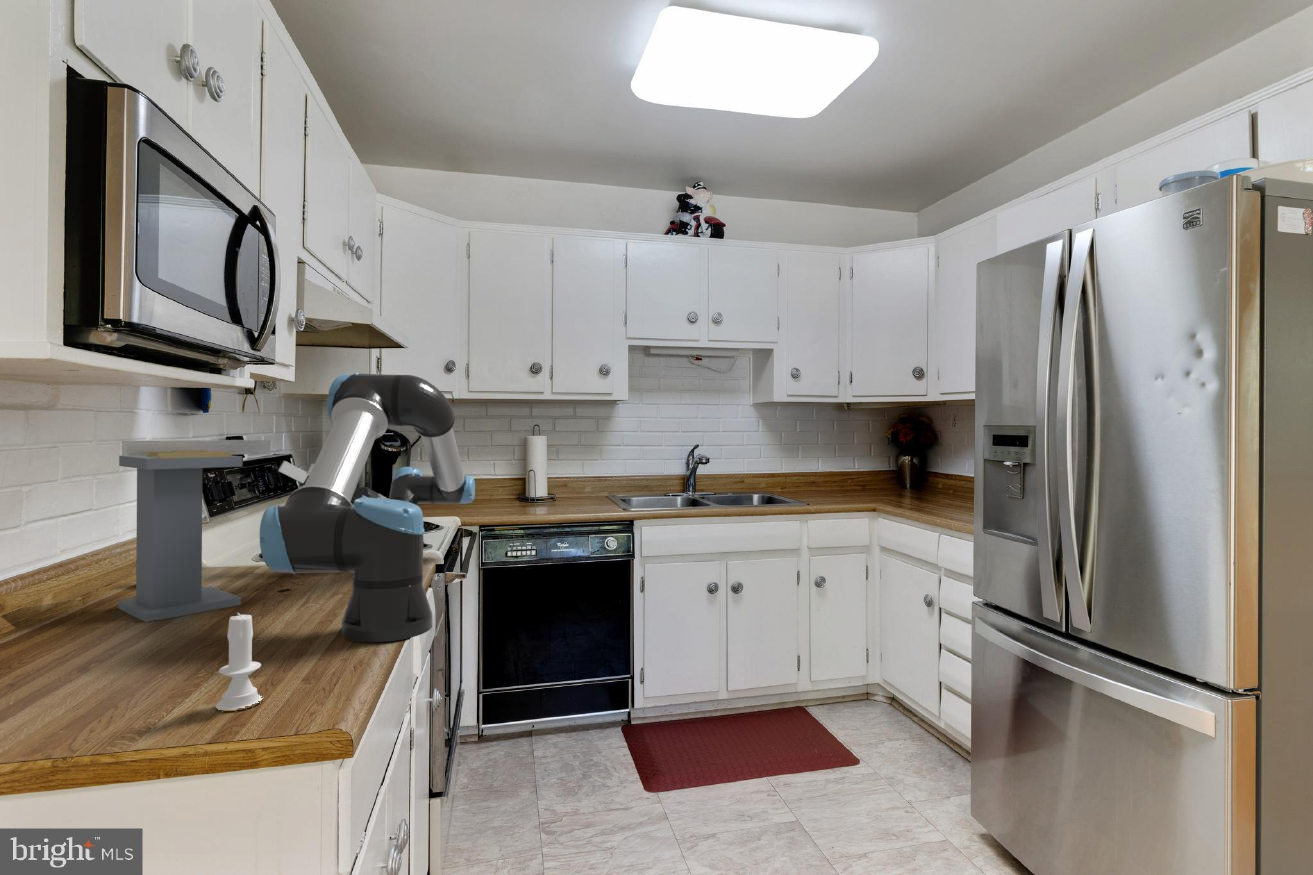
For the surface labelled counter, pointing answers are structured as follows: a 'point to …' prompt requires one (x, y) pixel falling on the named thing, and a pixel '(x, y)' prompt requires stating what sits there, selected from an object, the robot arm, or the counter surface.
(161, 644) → the counter surface
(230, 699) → the candle
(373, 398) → the robot arm
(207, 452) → the bracket
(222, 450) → the rod
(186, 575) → the stand
